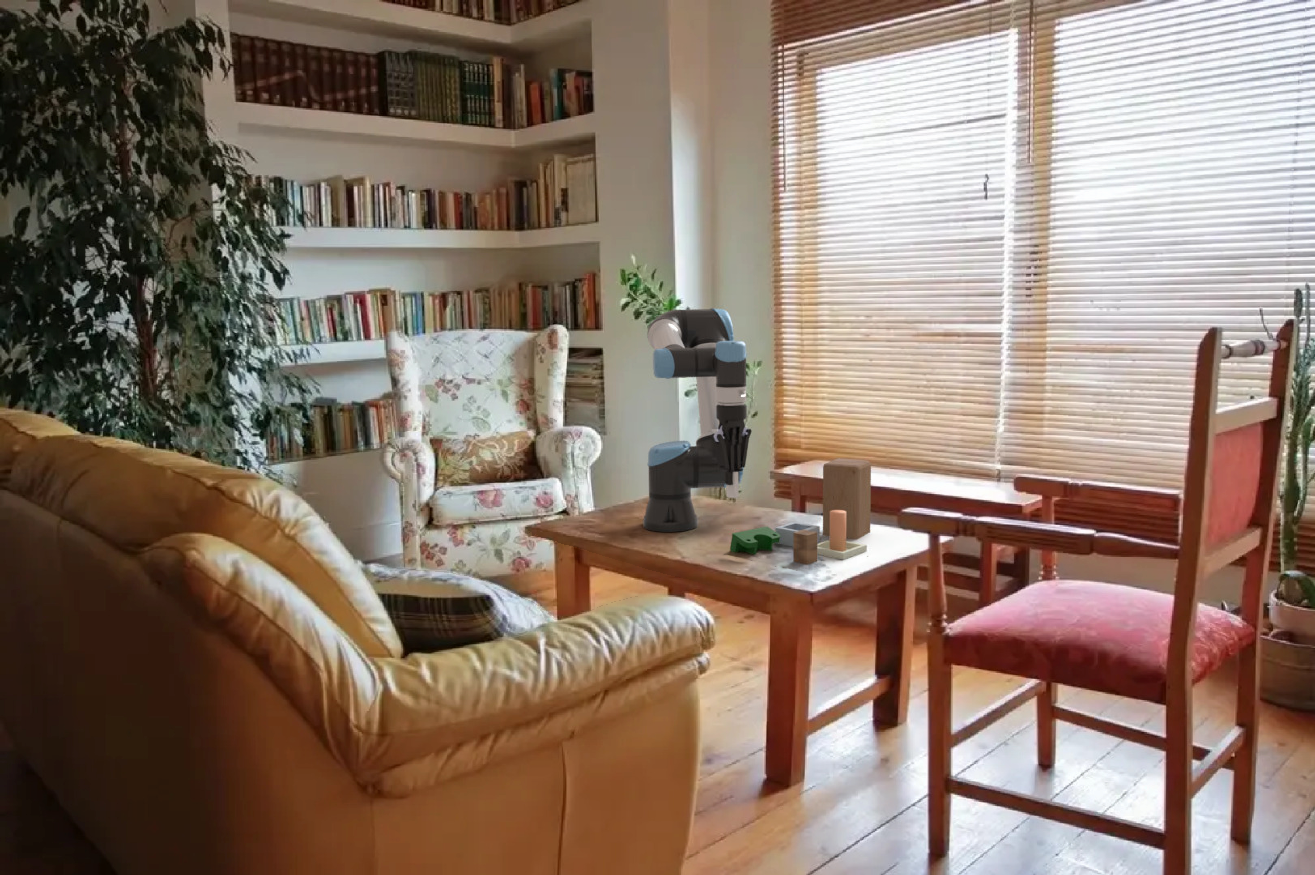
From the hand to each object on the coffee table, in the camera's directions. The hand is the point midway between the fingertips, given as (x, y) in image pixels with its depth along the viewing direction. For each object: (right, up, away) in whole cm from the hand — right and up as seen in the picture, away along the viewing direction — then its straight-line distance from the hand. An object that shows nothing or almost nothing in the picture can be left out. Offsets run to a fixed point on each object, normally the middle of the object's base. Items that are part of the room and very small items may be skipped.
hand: (732, 497), depth 258 cm
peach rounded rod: (+25, -13, -6) cm, 29 cm away
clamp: (+6, -14, -2) cm, 16 cm away
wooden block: (+31, -11, +13) cm, 35 cm away
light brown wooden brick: (+16, -15, -13) cm, 26 cm away
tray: (+25, -14, -5) cm, 30 cm away
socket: (+17, -13, +4) cm, 22 cm away
